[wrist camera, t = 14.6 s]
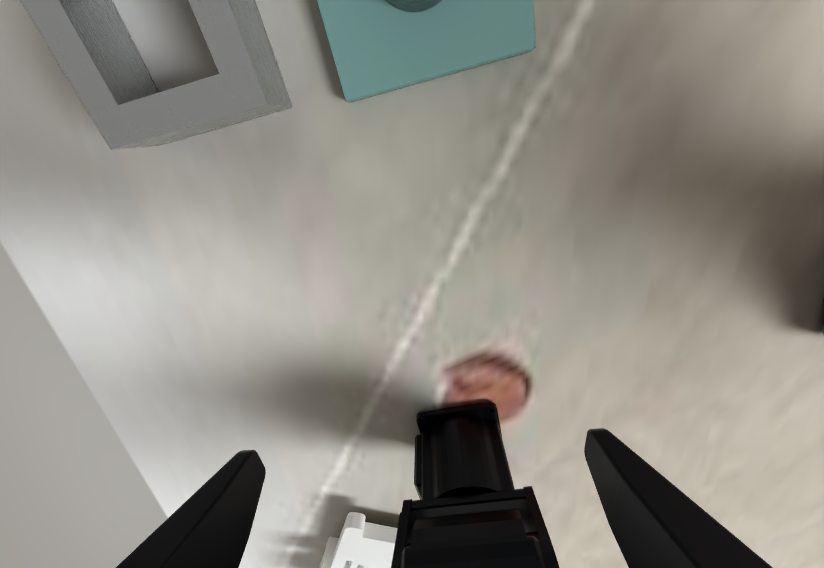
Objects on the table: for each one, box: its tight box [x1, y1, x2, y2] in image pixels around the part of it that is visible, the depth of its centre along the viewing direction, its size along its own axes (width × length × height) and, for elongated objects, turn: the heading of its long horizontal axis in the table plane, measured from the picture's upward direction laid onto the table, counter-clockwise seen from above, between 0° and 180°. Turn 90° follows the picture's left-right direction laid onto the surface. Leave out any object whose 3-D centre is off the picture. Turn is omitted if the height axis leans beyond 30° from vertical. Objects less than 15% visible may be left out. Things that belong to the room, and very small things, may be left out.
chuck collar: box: [20, 0, 292, 150], centre depth 14 cm, size 8×8×3 cm
